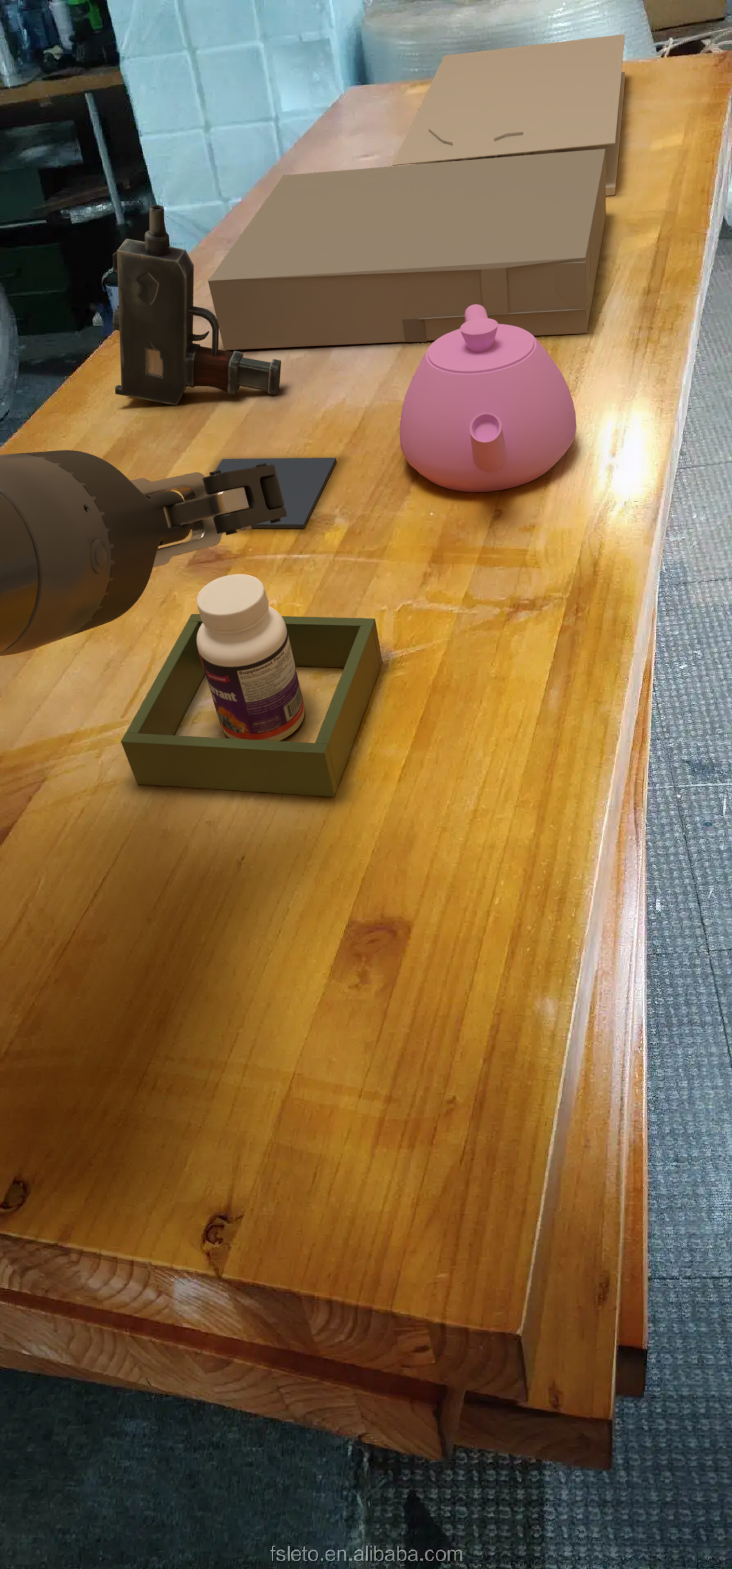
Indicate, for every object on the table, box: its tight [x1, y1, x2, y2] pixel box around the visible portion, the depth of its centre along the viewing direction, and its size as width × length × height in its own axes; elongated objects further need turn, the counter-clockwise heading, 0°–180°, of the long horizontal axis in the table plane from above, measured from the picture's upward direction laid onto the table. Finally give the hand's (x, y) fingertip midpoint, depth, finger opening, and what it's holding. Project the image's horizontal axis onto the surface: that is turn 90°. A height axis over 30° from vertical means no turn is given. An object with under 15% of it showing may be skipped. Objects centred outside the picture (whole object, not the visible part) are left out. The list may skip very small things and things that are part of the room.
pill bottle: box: [196, 573, 306, 741], centre depth 72 cm, size 5×5×10 cm
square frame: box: [120, 613, 383, 798], centre depth 74 cm, size 13×13×4 cm
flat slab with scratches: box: [392, 33, 626, 197], centre depth 149 cm, size 45×24×6 cm, turn 170°
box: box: [207, 149, 607, 351], centre depth 120 cm, size 35×29×7 cm
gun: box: [112, 204, 282, 406], centre depth 105 cm, size 3×17×15 cm
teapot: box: [399, 304, 577, 493], centre depth 91 cm, size 14×20×11 cm
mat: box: [183, 457, 337, 529], centre depth 96 cm, size 10×10×1 cm
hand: (189, 515), depth 63 cm, fingers open, 8 cm apart
